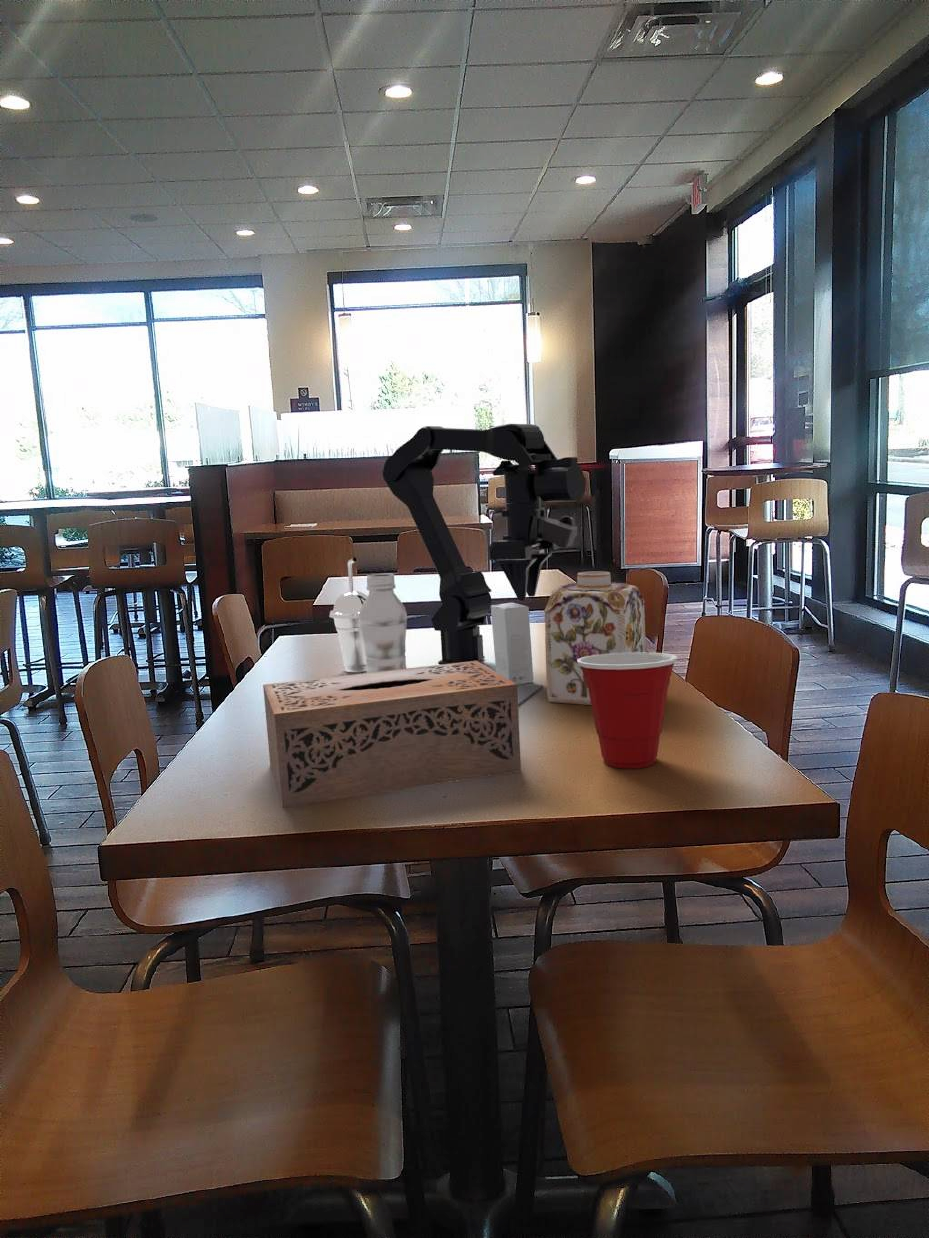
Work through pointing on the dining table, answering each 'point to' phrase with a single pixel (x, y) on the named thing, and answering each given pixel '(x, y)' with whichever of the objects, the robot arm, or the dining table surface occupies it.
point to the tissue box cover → (390, 730)
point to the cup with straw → (350, 626)
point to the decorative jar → (589, 630)
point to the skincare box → (512, 642)
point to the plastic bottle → (383, 625)
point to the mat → (526, 691)
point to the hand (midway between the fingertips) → (526, 598)
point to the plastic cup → (628, 704)
